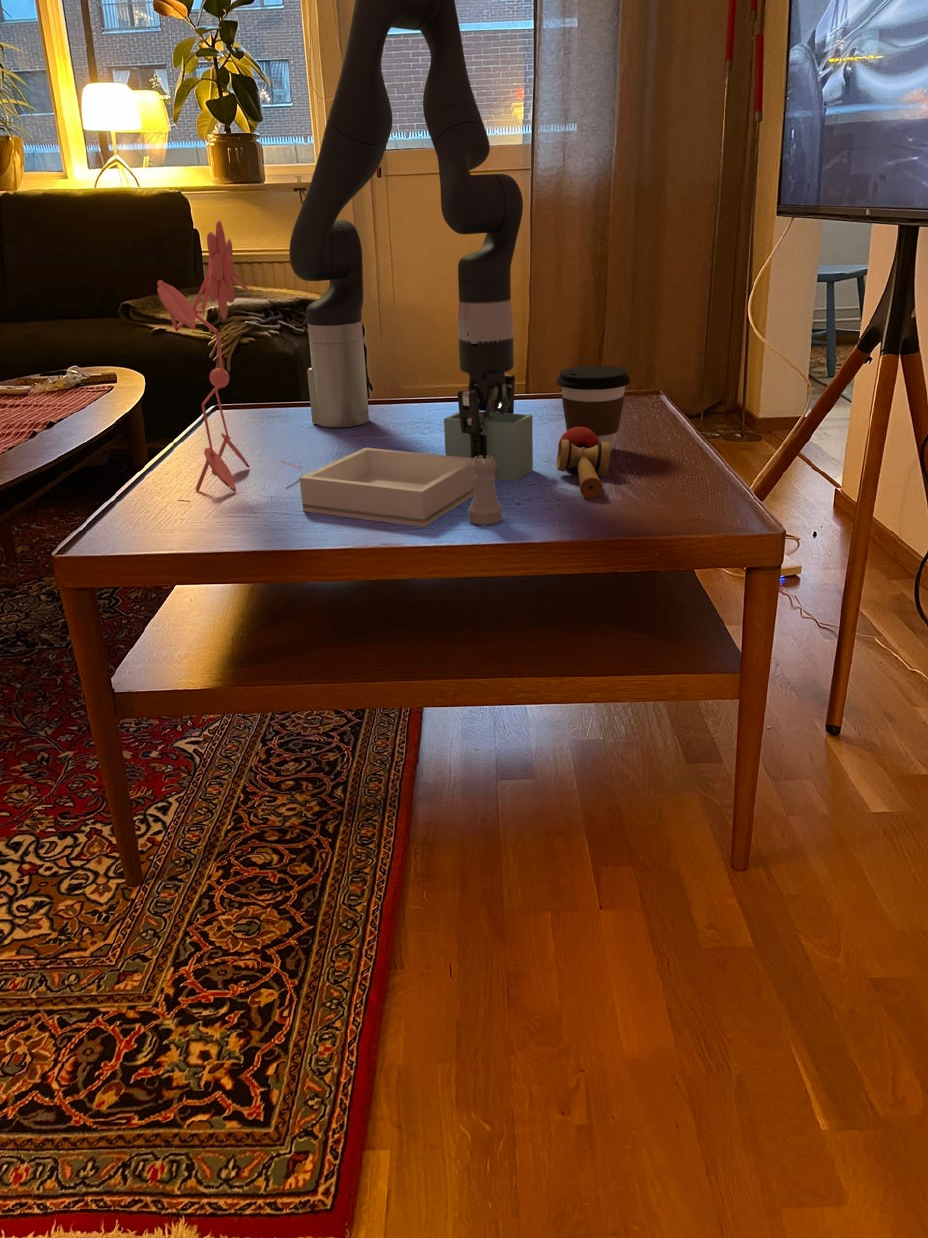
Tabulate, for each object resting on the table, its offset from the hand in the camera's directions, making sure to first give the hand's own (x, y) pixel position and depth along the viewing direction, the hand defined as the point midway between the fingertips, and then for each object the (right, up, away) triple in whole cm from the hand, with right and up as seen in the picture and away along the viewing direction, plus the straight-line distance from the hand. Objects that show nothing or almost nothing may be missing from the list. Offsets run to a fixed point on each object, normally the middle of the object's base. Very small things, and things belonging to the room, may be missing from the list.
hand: (489, 454), depth 140 cm
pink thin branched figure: (-34, -4, +1) cm, 35 cm away
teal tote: (0, -2, +1) cm, 3 cm away
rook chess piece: (-1, -12, -19) cm, 22 cm away
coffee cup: (+16, +2, +10) cm, 19 cm away
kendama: (+13, -4, -4) cm, 14 cm away
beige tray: (-13, -8, -10) cm, 18 cm away
